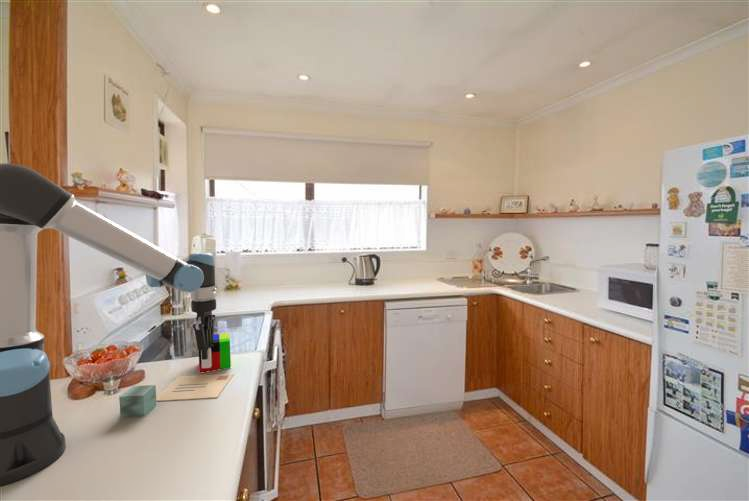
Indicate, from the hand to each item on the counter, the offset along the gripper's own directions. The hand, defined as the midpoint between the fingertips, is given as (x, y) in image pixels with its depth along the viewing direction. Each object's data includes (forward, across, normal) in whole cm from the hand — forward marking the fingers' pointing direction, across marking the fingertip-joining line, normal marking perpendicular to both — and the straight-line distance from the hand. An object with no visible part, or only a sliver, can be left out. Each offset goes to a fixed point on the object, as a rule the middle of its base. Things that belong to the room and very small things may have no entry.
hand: (206, 367), depth 115 cm
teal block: (+3, -21, +10) cm, 24 cm away
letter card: (+3, -8, 0) cm, 9 cm away
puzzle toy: (+3, +9, 0) cm, 9 cm away
